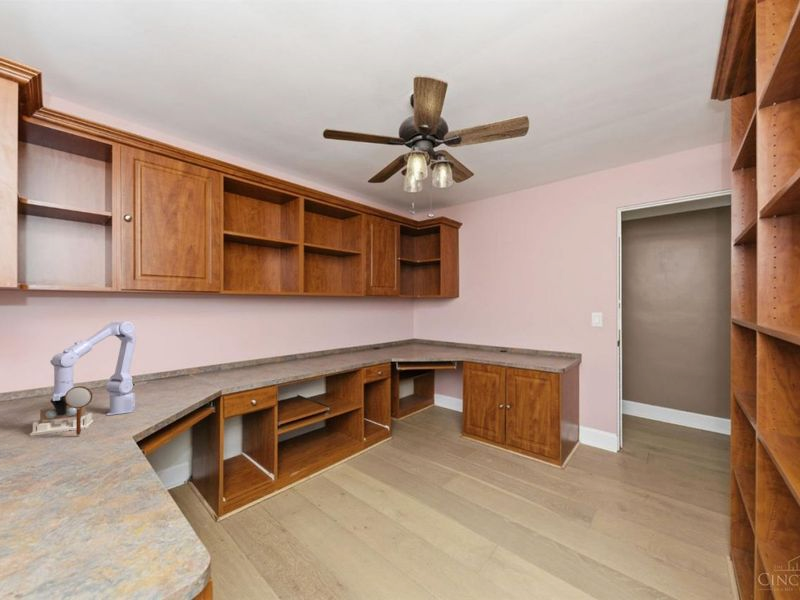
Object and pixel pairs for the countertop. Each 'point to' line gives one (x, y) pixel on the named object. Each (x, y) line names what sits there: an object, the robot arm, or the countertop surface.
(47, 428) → the display stand
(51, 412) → the tan wooden plank
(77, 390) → the magnifying glass
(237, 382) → the countertop surface
